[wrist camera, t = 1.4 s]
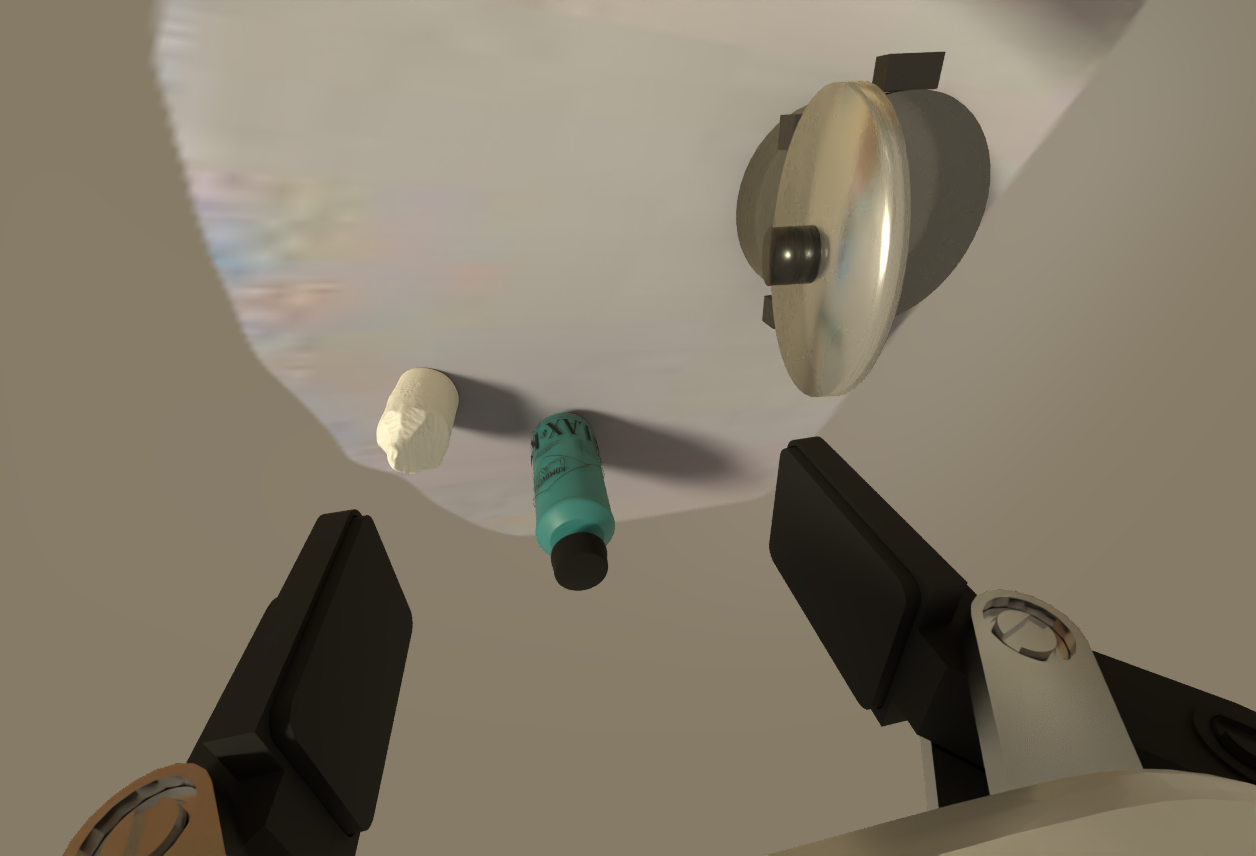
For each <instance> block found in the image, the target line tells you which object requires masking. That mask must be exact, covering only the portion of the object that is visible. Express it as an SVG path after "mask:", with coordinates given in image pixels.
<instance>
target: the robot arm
mask: <svg viewBox="0 0 1256 856" xmlns="http://www.w3.org/2000/svg"><path fill="white" fill-rule="evenodd" d="M769 549H770V554H771V557H772V560H773V562H774V564H775V565H776V567H777V568H778V570H779V572H780V574H781V575H782V577H783V579H784V580H785V582H786V584H787V585H788V587H789V588H790V590H791V592H792V594H793V595H794V597H795V599H796V600H797V602H798V603H799V605H800V607H801V608H802V610H803V612H804V613H805V615H806V617H807V618H808V620H809V622H810V623H811V625H812V627H813V628H814V630H815V632H816V633H817V635H818V637H819V638H820V640H821V642H822V643H823V645H824V647H825V648H826V650H827V652H828V653H829V655H830V656H831V658H832V660H833V662H834V663H835V665H836V667H837V668H838V670H839V671H840V673H841V675H842V676H843V678H844V680H845V681H846V683H847V685H848V686H849V688H850V690H851V691H852V693H853V695H854V696H855V698H856V700H857V701H858V703H859V704H860V705H861V706H862V707H863V708H864V709H866V710H868V709H871V710H872V712H873V713H874V715H875V717H876V718H877V720H878V721H879V723H880V725H881V726H886V725H890V724H894V723H898V722H902V721H907V720H908V722H909V723H910V725H911V726H912V728H913V729H914V731H915V732H916V734H917V735H919V736H920V742H921V752H922V762H923V771H924V782H925V792H926V802H927V812H923V813H920V814H916V815H912V816H908V817H905V818H901V819H897V820H894V821H890V822H886V823H883V824H879V825H875V826H872V827H868V828H864V829H861V830H857V831H853V832H849V833H846V834H842V835H838V836H834V837H831V838H827V839H824V840H820V841H816V842H812V843H809V844H805V845H801V846H798V847H794V848H790V849H787V850H783V851H779V852H776V853H772V854H769V855H765V856H1256V712H1255V711H1253V710H1250V709H1248V708H1246V707H1243V706H1241V705H1239V704H1237V703H1234V702H1232V701H1229V700H1226V699H1223V698H1221V697H1218V696H1215V695H1212V694H1210V693H1207V692H1204V691H1202V690H1199V689H1196V688H1193V687H1191V686H1188V685H1185V684H1182V683H1180V682H1177V681H1174V680H1171V679H1169V678H1166V677H1163V676H1161V675H1158V674H1155V673H1152V672H1149V671H1147V670H1144V669H1141V668H1139V667H1136V666H1133V665H1130V664H1128V663H1125V662H1122V661H1119V660H1116V659H1114V658H1111V657H1109V656H1106V655H1103V654H1100V653H1098V652H1095V651H1092V650H1091V648H1090V645H1089V643H1088V641H1087V640H1086V638H1085V636H1084V635H1083V633H1082V632H1081V631H1080V629H1079V627H1078V626H1077V625H1075V623H1074V622H1073V621H1071V620H1070V619H1069V618H1068V617H1067V616H1066V615H1065V614H1063V613H1062V612H1060V611H1059V610H1058V609H1056V608H1055V607H1053V606H1052V605H1050V604H1048V603H1046V602H1044V601H1042V600H1040V599H1038V598H1036V597H1034V596H1031V595H1027V594H1024V593H1020V592H1017V591H1011V590H1003V589H997V590H989V591H985V592H983V593H981V594H979V595H976V594H975V592H973V590H972V589H971V588H969V586H968V585H967V582H966V581H965V580H964V579H963V578H962V577H961V576H960V575H959V574H958V573H957V572H956V571H955V570H954V569H953V568H952V567H951V566H950V565H949V564H948V563H947V562H946V561H945V560H944V559H943V558H942V557H941V556H940V555H939V554H938V553H937V552H936V551H935V550H934V549H933V548H932V547H931V546H930V545H929V544H928V543H927V542H926V541H925V540H924V539H923V538H922V537H921V536H920V535H919V534H918V533H917V532H916V531H915V530H914V529H913V528H912V527H911V526H910V525H909V524H908V523H907V522H906V521H905V520H904V519H903V518H902V517H901V516H900V515H899V514H898V513H897V512H896V511H895V510H894V509H893V508H892V507H891V506H890V505H889V504H888V503H887V502H886V501H885V500H884V499H883V498H882V497H881V496H880V495H879V494H878V493H877V492H876V491H875V490H874V489H873V488H872V487H871V486H869V484H868V483H867V482H866V481H865V480H864V479H863V478H862V477H861V476H859V474H858V473H857V472H856V471H855V470H854V469H853V468H852V467H850V466H849V465H848V464H847V462H846V461H845V460H843V458H841V456H839V455H838V454H837V453H836V451H835V450H833V449H832V448H831V447H830V446H829V445H828V444H827V443H826V442H825V441H824V440H823V439H822V438H821V437H817V436H816V437H810V438H804V439H797V440H792V441H790V442H789V444H788V447H787V448H785V449H783V450H782V451H781V454H780V461H779V469H778V477H777V485H776V493H775V501H774V510H773V517H772V526H771V534H770V542H769ZM412 624H413V622H412V614H411V611H410V608H409V606H408V603H407V601H406V599H405V596H404V594H403V591H402V589H401V587H400V584H399V582H398V579H397V577H396V574H395V572H394V570H393V567H392V565H391V562H390V560H389V558H388V555H387V553H386V550H385V548H384V546H383V543H382V541H381V539H380V536H379V534H378V531H377V529H376V526H375V524H374V522H373V520H372V518H371V517H370V516H369V515H366V516H362V515H361V513H360V512H359V511H358V510H355V509H354V510H347V511H341V512H334V513H328V514H323V515H321V516H320V517H319V518H318V519H317V521H316V523H315V525H314V527H313V529H312V531H311V533H310V535H309V537H308V539H307V541H306V542H305V544H304V547H303V548H302V550H301V552H300V554H299V556H298V558H297V560H296V562H295V564H294V566H293V568H292V570H291V572H290V574H289V576H288V578H287V580H286V582H285V584H284V586H283V588H282V589H281V591H280V593H279V595H278V597H277V598H275V599H274V600H273V601H272V602H271V603H270V605H269V606H268V608H267V609H266V611H265V613H264V615H263V617H262V619H261V621H260V623H259V625H258V627H257V628H256V631H255V632H254V634H253V636H252V638H251V640H250V642H249V644H248V646H247V648H246V650H245V651H244V653H243V655H242V657H241V659H240V661H239V663H238V665H237V667H236V669H235V671H234V673H233V675H232V676H231V678H230V680H229V682H228V684H227V686H226V688H225V690H224V692H223V694H222V696H221V697H220V700H219V701H218V703H217V705H216V707H215V709H214V711H213V713H212V715H211V717H210V719H209V720H208V723H207V724H206V726H205V728H204V730H203V732H202V734H201V736H200V738H199V740H198V742H197V743H196V745H195V747H194V749H193V751H192V753H191V755H190V757H189V759H188V761H187V763H176V764H173V765H170V766H166V767H163V768H159V769H156V770H154V771H152V772H150V773H149V774H146V775H145V776H142V777H141V778H139V779H137V780H135V781H133V782H132V783H130V784H129V785H128V786H126V787H125V788H123V789H122V790H121V791H119V792H118V793H116V794H115V795H114V796H112V797H111V798H110V799H109V800H108V801H107V802H105V804H103V805H102V806H101V807H100V808H99V809H98V810H97V811H96V812H95V813H94V814H93V815H92V816H91V817H90V818H89V819H88V820H87V821H86V823H85V824H84V825H83V826H82V827H81V829H80V830H79V831H78V832H77V834H76V835H75V836H74V837H73V839H72V840H71V841H70V843H69V845H68V846H67V848H66V850H65V852H64V854H63V856H355V854H356V849H357V845H358V840H359V836H360V832H362V831H366V830H368V829H369V827H370V825H371V823H372V821H373V817H374V813H375V808H376V803H377V798H378V793H379V789H380V784H381V779H382V774H383V769H384V765H385V760H386V755H387V750H388V745H389V740H390V736H391V730H392V726H393V721H394V716H395V711H396V706H397V702H398V697H399V692H400V687H401V682H402V677H403V672H404V668H405V662H406V658H407V653H408V648H409V643H410V639H411V633H412Z"/></svg>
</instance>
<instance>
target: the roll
mask: <svg viewBox="0 0 1256 856" xmlns="http://www.w3.org/2000/svg"><path fill="white" fill-rule="evenodd" d="M458 404H459V395H458V392H457V390H456V388H455V385H454V384H453V382H452V381H451V380H450V379H449V378H448V377H447V376H446V375H444V374H442V373H441V372H438V371H436V370H433V369H429V368H414V369H411V370H408V371H406V372H405V373H404V374H403V375H402V376H401V377H400V379H399V381H398V383H397V385H396V387H395V389H394V390H393V392H392V394H391V395H390V397H389V398H388V402H387V406H386V409H385V411H384V413H383V415H382V417H381V419H380V422H379V424H378V427H377V443H378V444H379V446H380V447H382V449H383V450H384V451H385V452H386V453H387V456H388V457H387V458H388V461H389V464H390V465H391V467H392V468H393V469H394V470H395V471H397V472H403V473H404V474H407V473H409V474H416V473H418V472H420V471H423V470H427V469H434V468H437V467H439V465H440V463H441V461H442V459H443V456H444V454H445V453H446V450H447V447H448V444H449V440H450V436H451V432H452V428H453V424H454V419H455V415H456V411H457V408H458Z"/></svg>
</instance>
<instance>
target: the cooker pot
mask: <svg viewBox="0 0 1256 856" xmlns="http://www.w3.org/2000/svg"><path fill="white" fill-rule="evenodd" d="M944 56H945V52H926V53H902V54H888V55H883V56H878V57H876V63H875V69H874V75H873V82H872V83H873V84H875V85H877V86H878V87H879V88H880V89H881V90H882V91H883V92H888V93H885V94H886V96H887V97H888V99H889V100H890V102H891V103H892V105H893V107H894V110H895V112H896V114H897V116H898V119H899V122H900V125H901V129H902V132H903V136H904V140H905V145H906V151H907V157H908V164H909V176H910V190H911V218H910V234H909V246H908V254H907V262H906V269H905V275H904V280H903V285H902V290H901V295H900V299H899V302H898V306H897V310H896V314H895V316H896V315H898V314H900V313H902V312H904V311H906V310H908V309H910V308H911V307H913V306H915V305H916V304H918V303H919V302H920V301H922V300H923V299H925V298H926V297H927V296H928V295H930V294H931V293H932V292H933V291H934V290H935V289H936V288H937V287H939V285H940V284H941V283H942V282H943V281H944V280H945V279H946V278H947V277H948V276H949V275H950V274H951V272H952V271H953V270H954V268H955V267H956V266H957V265H958V263H959V262H960V260H961V259H962V257H963V256H964V254H965V253H966V251H967V249H968V248H969V246H970V244H971V242H972V240H973V238H974V236H975V234H976V232H977V230H978V227H979V225H980V222H981V219H982V216H983V213H984V210H985V206H986V202H987V198H988V192H989V185H990V158H989V150H988V146H987V142H986V138H985V136H984V133H983V131H982V129H981V126H980V124H979V123H978V121H977V120H976V118H975V117H974V115H973V114H972V113H971V112H970V111H969V110H968V109H967V107H966V106H965V105H963V104H962V103H960V102H959V101H958V100H956V99H955V98H953V97H951V96H949V95H946V94H944V93H941V92H937V91H932V90H928V89H937V88H938V83H939V79H940V74H941V70H942V65H943V61H944ZM807 106H808V105H806V106H804V107H802V108H800V109H798V110H796V111H795V112H793V113H792V114H790V115H781V116H780V123H779V124H778V125H776V126H775V128H774V129H773V130H772V131H771V132H770V133H769V134H768V135H767V136H766V137H765V139H764V140H763V141H762V143H761V144H760V145H759V147H758V148H757V150H756V152H755V153H754V155H753V157H752V158H751V160H750V162H749V165H748V167H747V169H746V171H745V174H744V177H743V180H742V183H741V186H740V190H739V195H738V201H737V210H736V224H737V232H738V237H739V241H740V245H741V248H742V250H743V253H744V255H745V257H746V259H747V261H748V262H749V264H750V266H751V267H752V268H753V269H754V271H755V272H756V273H757V274H758V275H759V276H760V277H762V278H763V272H762V248H763V242H764V237H765V234H766V231H767V230H768V228H770V227H773V225H774V216H775V208H776V202H777V195H778V190H779V185H780V180H781V175H782V171H783V167H784V163H785V159H786V156H787V152H788V149H789V146H790V143H791V140H792V137H793V134H794V132H795V129H796V127H797V125H798V122H799V120H800V118H801V116H802V114H803V112H804V110H805V109H806V107H807ZM763 279H764V278H763ZM762 321H763V322H765V323H766V324H767V325H769V326H770V327H771V328H773V329H775V323H774V315H773V306H772V295H768V296H764V307H763V318H762Z"/></svg>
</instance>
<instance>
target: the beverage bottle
mask: <svg viewBox="0 0 1256 856" xmlns="http://www.w3.org/2000/svg"><path fill="white" fill-rule="evenodd" d="M587 423H588V422H587V421H585V420H583V419H582V418H581V417H579V416H577V415H574V414H570V413H558V414H554V415H551V416H549V417H547V418H545V419H544V420H543V421H542V422H541V423H540V424H539V425H538V426H537V428H535V429H536V430H535V432H534V434H533V436H532V437H533V439H531V441H532V443H531V444H532V448H533V452H532V453H533V456H532V454H531V464H532V458H533V470H534V479H533V480H534V490H533V491H534V493H535V505H536V538H537V541H538V544H539V545H540V546H541V548H542V549H543V550H544V551H545V552H546V553H547V554H549V555H551V563H552V566H553V570H554V575H555V578H556V580H557V582H558V583H559V584H560V585H561V586H563V587H564V588H566V589H569V590H575V591H581V590H586V589H590V588H592V587H594V586H596V585H598V584H599V583H600V582H601V581H602V580H603V579H604V578H605V576H606V574H607V571H608V561H607V549H606V545H607V544H608V543H609V542H610V540H611V538H612V536H613V534H614V529H615V521H614V517H613V515H612V513H611V508H610V504H609V500H608V496H607V492H606V488H605V483H604V479H603V478H604V477H603V473H604V472H603V473H602V469H603V468H602V469H601V465H602V464H601V465H600V461H601V460H600V461H599V457H600V456H599V457H598V455H599V452H598V453H597V449H598V446H597V447H596V444H597V442H596V444H595V439H596V438H595V439H594V436H593V432H592V430H591V428H590V426H589V425H590V424H589V425H588V424H587ZM531 450H532V449H531ZM598 451H599V450H598ZM600 459H601V458H600ZM601 463H602V462H601ZM603 471H604V470H603ZM532 477H533V476H532ZM533 505H534V504H533ZM534 507H535V506H534Z"/></svg>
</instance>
